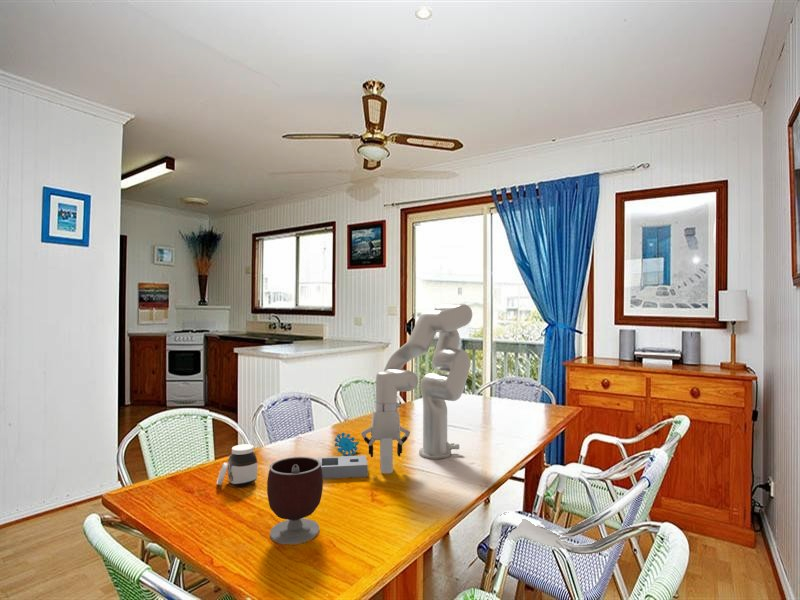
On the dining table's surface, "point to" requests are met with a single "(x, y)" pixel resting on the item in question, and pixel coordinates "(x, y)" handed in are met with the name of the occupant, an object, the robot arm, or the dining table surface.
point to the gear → (346, 444)
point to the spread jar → (240, 466)
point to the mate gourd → (294, 498)
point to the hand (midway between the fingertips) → (385, 455)
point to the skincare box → (386, 455)
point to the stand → (344, 466)
